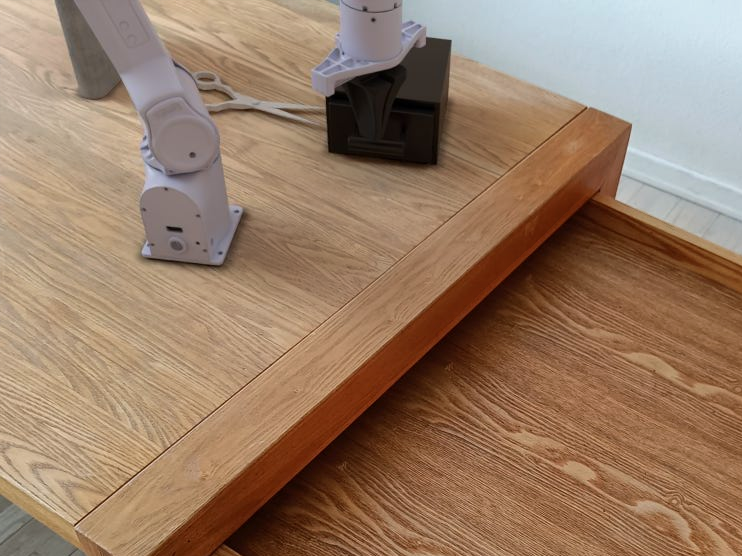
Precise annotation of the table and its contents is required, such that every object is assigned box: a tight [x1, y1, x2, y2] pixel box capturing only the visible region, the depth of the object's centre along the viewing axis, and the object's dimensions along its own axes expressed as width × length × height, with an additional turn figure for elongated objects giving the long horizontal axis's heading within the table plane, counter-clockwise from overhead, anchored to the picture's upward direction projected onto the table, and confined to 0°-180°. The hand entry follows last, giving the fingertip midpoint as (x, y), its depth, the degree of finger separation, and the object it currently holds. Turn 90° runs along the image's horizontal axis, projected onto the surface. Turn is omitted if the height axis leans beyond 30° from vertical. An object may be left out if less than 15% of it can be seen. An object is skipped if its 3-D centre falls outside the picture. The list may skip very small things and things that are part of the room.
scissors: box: [192, 70, 326, 127], centre depth 105 cm, size 11×1×20 cm
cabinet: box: [324, 36, 453, 166], centre depth 103 cm, size 15×13×8 cm
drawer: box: [329, 98, 434, 163], centre depth 101 cm, size 18×11×6 cm, turn 176°
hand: (371, 135), depth 91 cm, fingers closed
